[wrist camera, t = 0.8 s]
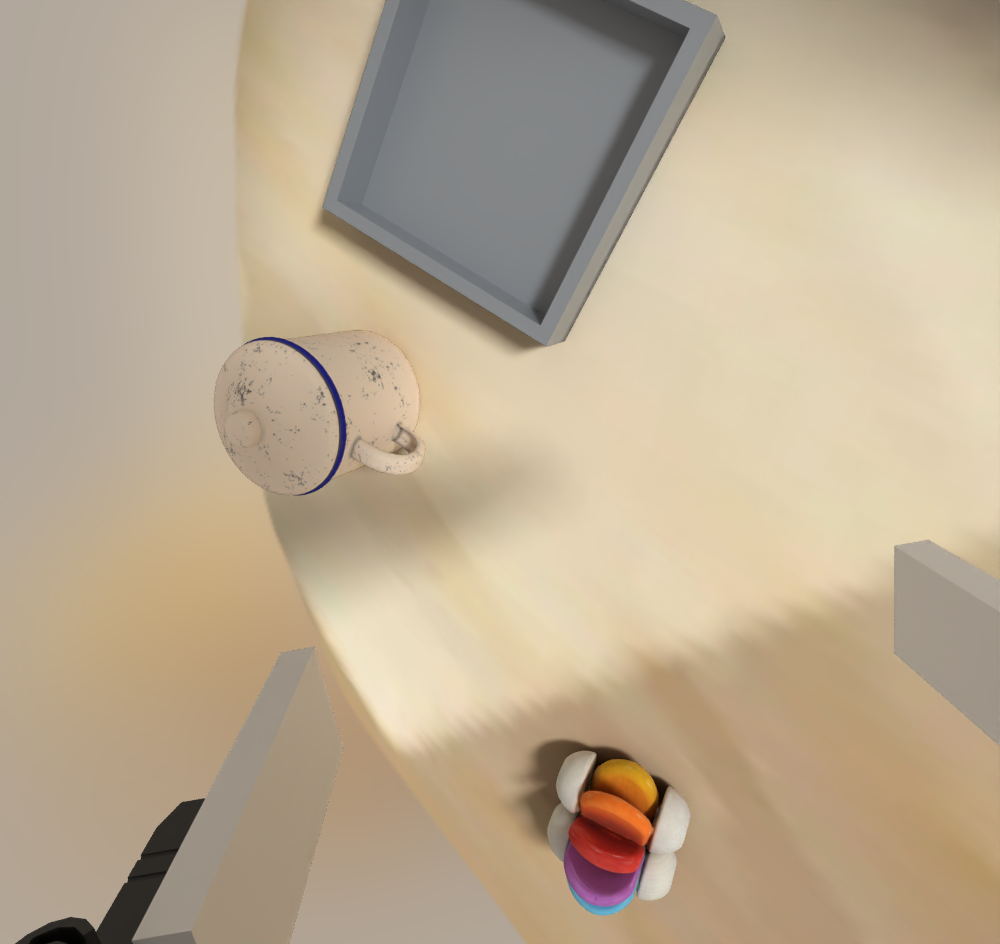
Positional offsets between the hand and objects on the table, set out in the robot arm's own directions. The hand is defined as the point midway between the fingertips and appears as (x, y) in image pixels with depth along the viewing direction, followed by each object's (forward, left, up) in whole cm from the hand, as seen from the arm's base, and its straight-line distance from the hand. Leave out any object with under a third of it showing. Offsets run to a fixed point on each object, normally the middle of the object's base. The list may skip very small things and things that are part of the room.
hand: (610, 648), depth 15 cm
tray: (-7, -18, -23) cm, 30 cm away
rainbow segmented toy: (+26, +9, -24) cm, 36 cm away
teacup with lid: (+11, -19, -23) cm, 32 cm away
